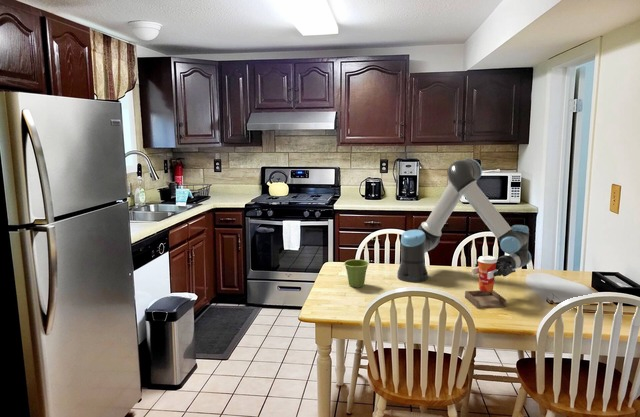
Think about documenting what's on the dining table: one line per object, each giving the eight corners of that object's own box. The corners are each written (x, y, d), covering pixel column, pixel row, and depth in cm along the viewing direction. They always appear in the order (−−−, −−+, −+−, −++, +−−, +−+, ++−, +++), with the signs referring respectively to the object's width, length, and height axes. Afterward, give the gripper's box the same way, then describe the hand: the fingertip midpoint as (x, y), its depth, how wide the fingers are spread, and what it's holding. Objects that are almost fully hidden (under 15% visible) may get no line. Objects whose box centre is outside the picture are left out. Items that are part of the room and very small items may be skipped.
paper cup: (473, 286, 200) (474, 255, 198) (490, 285, 200) (491, 254, 198) (481, 293, 192) (482, 260, 190) (499, 292, 193) (500, 259, 190)
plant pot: (339, 285, 221) (339, 263, 219) (354, 279, 230) (354, 258, 228) (358, 291, 213) (358, 268, 212) (373, 284, 222) (373, 262, 220)
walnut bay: (476, 308, 191) (477, 301, 190) (464, 297, 203) (465, 291, 203) (506, 306, 192) (506, 300, 191) (492, 296, 204) (492, 289, 204)
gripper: (529, 275, 200) (501, 288, 185) (487, 266, 214) (459, 277, 200) (529, 259, 198) (502, 270, 184) (488, 251, 213) (460, 260, 199)
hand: (480, 273), depth 192 cm, fingers closed on paper cup, 7 cm apart
